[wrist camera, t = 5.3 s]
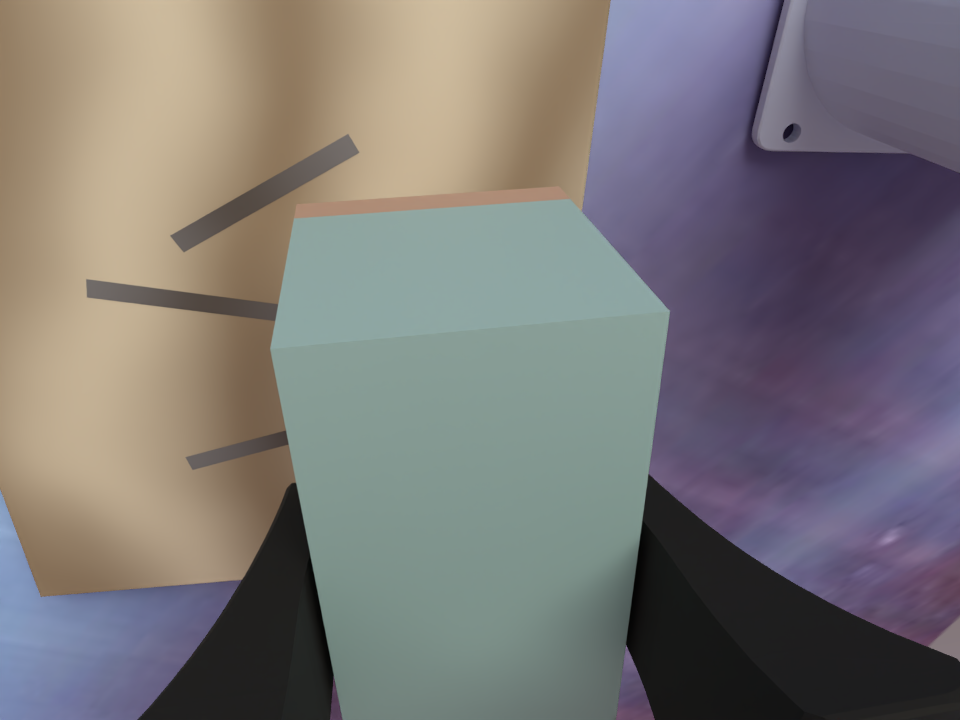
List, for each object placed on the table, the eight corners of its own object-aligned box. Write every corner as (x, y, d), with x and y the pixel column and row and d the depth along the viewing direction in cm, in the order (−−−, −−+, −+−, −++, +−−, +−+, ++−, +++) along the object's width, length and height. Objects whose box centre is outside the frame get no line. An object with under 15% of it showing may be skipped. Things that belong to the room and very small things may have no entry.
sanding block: (559, 186, 14) (669, 311, 9) (545, 528, 18) (614, 728, 14) (296, 204, 13) (269, 349, 8) (350, 554, 18) (353, 774, 13)
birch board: (593, -27, 17) (613, -23, 16) (525, 525, 26) (534, 555, 25) (-163, -73, 14) (-212, -73, 13) (56, 560, 24) (40, 596, 22)
